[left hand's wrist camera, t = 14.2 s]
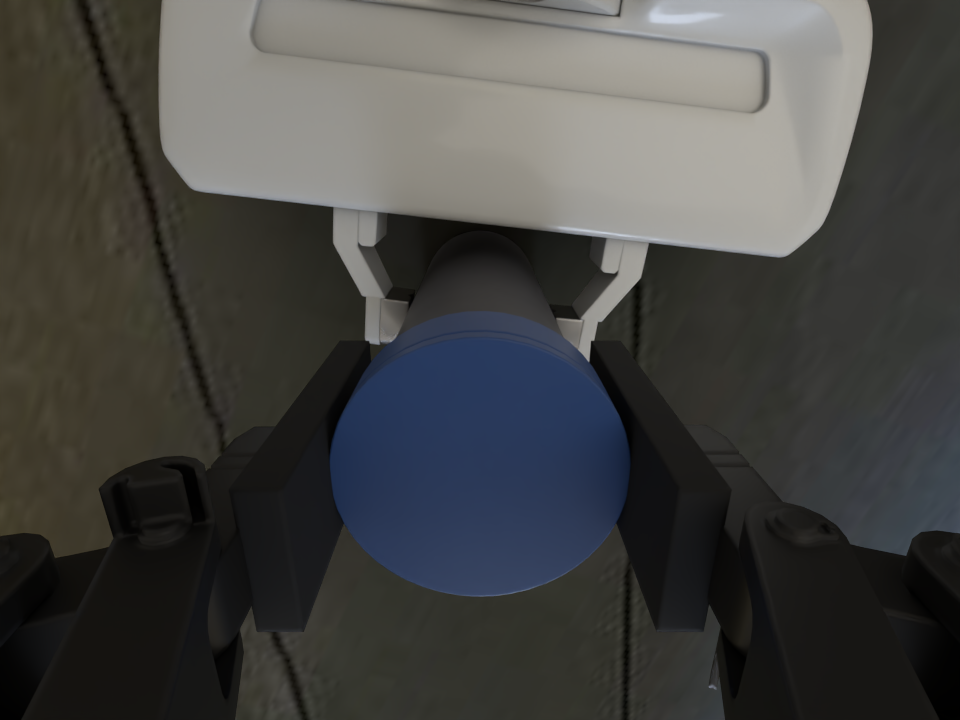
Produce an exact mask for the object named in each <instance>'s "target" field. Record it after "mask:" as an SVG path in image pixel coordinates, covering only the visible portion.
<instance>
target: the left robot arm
mask: <svg viewBox="0 0 960 720" xmlns="http://www.w3.org/2000/svg"><path fill="white" fill-rule="evenodd" d="M370 363H371V355H370V342H369V341H340V342H339V343H338V344H337V346H336V347H335V348H334V350H333V351H332V352H331V354H330V355H329V356H328V358H327V359H326V360H325V362H324V363H323V364H322V366H321V367H320V368H319V369H318V371H317V372H316V373H315V375H314V376H313V377H312V379H311V380H310V381H309V383H308V384H307V385H306V387H305V388H304V389H303V391H302V392H301V393H300V395H299V396H298V397H297V399H296V400H295V401H294V403H293V404H292V405H291V407H290V408H289V409H288V411H287V412H286V413H285V415H284V416H283V417H282V419H281V420H280V421H279V423H278V424H277V425H276V427H254V428H252V429H250V430H249V431H247V432H245V433H244V434H242V435H240V436H239V437H237V438H235V439H234V440H233V441H232V442H231V443H230V445H229V446H228V447H227V448H226V449H225V450H224V451H223V453H222V456H219V457H218V458H217V460H216V461H215V462H214V463H213V464H212V465H211V469H208V470H207V471H206V470H205V466H204V464H203V463H201V462H200V461H199V460H197V459H195V458H190V457H185V456H173V457H162V458H157V459H152V460H148V461H144V462H141V463H139V464H136V465H133V466H131V467H128V468H125V469H124V470H122V471H120V472H119V473H117V474H115V475H114V476H112V477H110V478H109V479H108V480H107V481H106V482H105V483H104V484H103V485H102V486H101V487H100V488H99V492H100V495H101V498H102V502H103V505H104V508H105V511H106V515H107V518H108V521H109V525H110V528H111V531H112V535H113V540H112V542H111V544H110V546H109V547H107V548H103V549H99V550H94V551H89V552H84V553H79V554H74V555H69V556H64V557H59V558H55V557H54V554H53V552H52V549H51V546H50V543H49V541H48V540H47V539H45V538H44V537H43V536H41V535H38V534H29V533H21V534H14V535H6V536H0V720H235V715H236V708H237V700H238V692H239V685H240V677H241V669H242V662H243V654H244V650H243V643H242V637H241V633H240V627H241V625H242V624H243V622H244V620H245V618H246V616H247V614H248V612H249V610H250V608H251V606H252V610H253V614H254V619H255V624H256V629H257V632H304V629H305V627H306V624H307V621H308V619H309V616H310V613H311V610H312V608H313V605H314V602H315V600H316V597H317V594H318V592H319V589H320V586H321V583H322V581H323V578H324V575H325V573H326V570H327V567H328V564H329V562H330V559H331V556H332V554H333V551H334V548H335V545H336V543H337V540H338V537H339V535H340V532H341V529H342V527H343V524H344V522H343V520H342V518H341V516H340V514H339V512H338V509H337V507H336V504H335V501H334V497H333V490H332V482H331V473H330V463H329V455H330V449H331V442H332V438H333V435H334V432H335V429H336V426H337V423H338V421H339V419H340V417H341V415H342V413H343V411H344V409H345V407H346V405H347V403H348V401H349V399H350V397H351V395H352V394H353V392H354V390H355V388H356V386H357V384H358V382H359V380H360V379H361V377H362V375H363V373H364V372H365V370H366V369H367V367H368V366H369V364H370ZM589 363H590V364H591V365H592V367H593V368H594V370H595V372H596V373H597V375H598V377H599V379H600V380H601V382H602V384H603V386H604V388H605V390H606V391H607V393H608V395H609V397H610V399H611V401H612V403H613V405H614V407H615V409H616V410H617V412H618V414H619V416H620V418H621V421H622V423H623V426H624V428H625V431H626V434H627V438H628V443H629V447H630V455H631V466H630V475H629V484H628V492H627V498H626V502H625V504H624V507H623V509H622V512H621V514H620V517H619V518H618V520H617V522H616V523H617V526H618V528H619V531H620V534H621V537H622V539H623V542H624V545H625V547H626V550H627V553H628V556H629V558H630V561H631V564H632V566H633V569H634V572H635V574H636V577H637V580H638V583H639V585H640V588H641V591H642V593H643V596H644V599H645V602H646V604H647V607H648V610H649V612H650V615H651V618H652V620H653V623H654V626H655V629H656V631H657V632H703V631H704V626H705V621H706V616H707V611H708V606H709V604H710V606H711V608H712V610H713V612H714V614H715V616H716V618H717V620H718V622H719V624H720V626H721V628H720V633H719V637H718V642H717V647H716V651H715V656H714V661H713V665H712V670H711V675H710V681H709V687H710V688H714V689H716V688H717V684H718V679H719V677H720V683H721V691H722V699H723V706H724V714H725V720H960V534H959V533H951V532H944V531H928V532H921V533H919V534H918V535H917V536H915V537H914V538H913V539H912V542H911V545H910V547H909V550H908V553H907V556H903V555H898V554H893V553H888V552H883V551H878V550H873V549H869V548H864V547H859V546H855V545H851V544H850V543H849V541H848V539H847V537H846V536H845V535H844V534H843V533H842V531H841V530H840V529H839V528H838V526H837V525H835V524H834V523H832V522H831V521H829V520H828V519H827V518H825V517H824V516H822V515H820V514H818V513H816V512H813V511H811V510H809V509H807V508H804V507H801V506H797V505H793V504H789V503H785V502H782V501H781V499H780V498H779V497H778V496H777V495H776V494H775V492H774V491H773V490H772V489H771V488H770V487H769V486H768V484H767V483H766V482H765V481H764V480H763V479H762V478H761V476H760V475H759V474H758V473H757V472H756V471H755V469H754V468H753V467H750V466H749V463H748V461H747V460H746V459H745V458H744V457H743V456H742V455H741V454H739V451H738V450H737V449H736V448H735V447H734V445H733V444H732V443H731V442H730V441H729V440H728V438H727V437H725V436H723V435H722V434H720V433H718V432H717V431H715V430H713V429H712V428H710V427H708V426H707V425H683V424H682V422H681V421H680V420H679V418H678V417H677V416H676V414H675V413H674V412H673V410H672V409H671V408H670V406H669V405H668V404H667V402H666V401H665V400H664V398H663V397H662V396H661V394H660V393H659V392H658V390H657V389H656V388H655V386H654V385H653V384H652V382H651V381H650V380H649V378H648V377H647V376H646V374H645V373H644V372H643V370H642V369H641V368H640V366H639V365H638V364H637V362H636V361H635V360H634V358H633V357H632V356H631V354H630V353H629V352H628V350H627V349H626V348H625V346H624V345H623V344H622V342H621V341H591V346H590V359H589Z"/></svg>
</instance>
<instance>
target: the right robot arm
mask: <svg viewBox="0 0 960 720" xmlns="http://www.w3.org/2000/svg"><path fill="white" fill-rule="evenodd" d="M872 36H873V33H872V18H871V13H870V9H869V5H868V2H867V0H162V6H161V21H160V37H159V72H158V83H159V127H160V138H161V144H162V149H163V152H164V154H165V156H166V158H167V159H168V160H169V162H170V163H171V164H172V166H173V167H174V168H175V170H176V171H177V172H178V174H179V175H180V176H181V178H182V179H183V180H184V181H185V183H186V184H187V185H188V186H189V187H190V188H192V189H193V190H195V191H199V192H207V193H215V194H224V195H233V196H242V197H251V198H259V199H268V200H277V201H286V202H295V203H303V204H312V205H321V206H330V207H333V244H334V246H335V248H336V249H337V251H338V253H339V255H340V257H341V258H342V260H343V262H344V264H345V266H346V267H347V269H348V271H349V273H350V275H351V276H352V278H353V280H354V282H355V284H356V285H357V287H358V289H359V291H360V293H361V295H362V296H365V297H366V316H365V340H366V341H369V342H370V343H371V344H378V345H380V344H384V345H388V344H389V343H390V342H392V341H393V340H394V339H395V338H396V337H397V335H398V333H399V331H400V328H401V326H402V324H403V322H404V320H405V318H406V315H407V313H408V311H409V309H410V307H411V304H412V302H413V300H414V295H415V290H413V289H405V288H397V287H393V284H392V282H391V280H390V278H389V276H388V274H387V272H386V270H385V268H384V266H383V264H382V261H381V259H380V257H379V255H378V253H377V251H376V249H375V247H374V245H375V244H376V243H377V242H379V241H380V240H381V239H382V238H383V237H384V236H386V234H387V217H388V213H392V214H400V215H409V216H418V217H427V218H436V219H444V220H453V221H462V222H471V223H480V224H489V225H497V226H506V227H515V228H524V229H533V230H541V231H550V232H559V233H568V234H577V235H585V236H592V242H591V248H590V254H589V258H590V260H591V261H592V262H593V263H594V264H595V265H596V266H597V267H599V268H600V269H599V270H598V272H597V273H596V274H595V275H594V277H593V278H592V279H591V280H590V282H589V283H588V284H587V285H586V287H585V288H584V289H583V291H582V292H581V293H580V294H579V296H578V297H577V298H576V299H575V301H574V302H573V303H572V306H563V305H551V304H550V309H551V311H552V313H553V315H554V317H555V320H556V322H557V324H558V326H559V328H560V331H561V333H562V335H563V337H564V338H565V339H566V340H568V341H569V342H570V343H571V344H572V345H573V346H574V347H575V348H577V349H578V350H579V351H580V352H581V353H582V354H583V355H584V357H585V358H586V359H587V360H588V362H589V359H590V346H591V341H594V338H595V333H596V328H597V323H598V322H602V321H603V320H604V318H605V317H606V316H607V315H608V314H609V313H610V312H611V311H612V309H613V308H614V307H615V306H616V305H617V304H618V303H619V302H620V301H621V299H622V298H623V297H624V296H625V295H626V294H627V293H628V292H629V290H630V289H631V288H632V287H633V286H634V285H635V284H636V283H637V282H638V280H639V279H640V278H641V275H642V271H643V267H644V262H645V258H646V253H647V249H648V245H649V243H656V244H665V245H674V246H682V247H691V248H700V249H709V250H718V251H726V252H735V253H744V254H753V255H762V256H771V257H785V256H787V255H789V254H791V253H792V252H793V251H794V250H796V249H797V248H798V247H800V246H801V245H802V244H803V243H804V242H805V241H807V240H808V239H809V238H810V237H811V236H812V235H813V234H814V233H815V232H816V231H818V230H819V228H820V227H821V226H822V224H823V223H824V221H825V219H826V217H827V215H828V212H829V210H830V207H831V204H832V202H833V199H834V196H835V193H836V190H837V187H838V184H839V181H840V178H841V175H842V172H843V168H844V165H845V162H846V158H847V155H848V151H849V148H850V144H851V141H852V137H853V133H854V129H855V126H856V122H857V118H858V114H859V110H860V106H861V102H862V97H863V93H864V89H865V84H866V79H867V74H868V69H869V64H870V58H871V51H872Z"/></svg>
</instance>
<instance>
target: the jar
mask: <svg viewBox="0 0 960 720" xmlns="http://www.w3.org/2000/svg"><path fill="white" fill-rule="evenodd" d="M468 311H490V312H500V313H507V314H511V315H515V316H520V317H523V318H526V319H529V320H532V321H534V322H537V323H540V324H541V325H543V326H545V327H547V328H549V329H551V330H553V331H555V332H556V333H558V334H559V335H561V336H562V337H563V335H562V333H561V331H560V328H559V326H558V324H557V322H556V320H555V317H554V315H553V313H552V311H551V309H550V306H549V304H548V302H547V300H546V298H545V295H544V293H543V291H542V289H541V287H540V284H539V282H538V280H537V278H536V276H535V274H534V271H533V269H532V267H531V265H530V263H529V260H528V259H527V257H526V255H525V254H524V252H523V251H522V250H521V249H520V248H519V247H518V246H517V245H516V244H515V243H514V242H513V241H511V240H510V239H508V238H506V237H505V236H503V235H500V234H497V233H494V232H490V231H471V232H466V233H463V234H460V235H458V236H456V237H454V238H452V239H450V240H449V241H447V242H446V243H445V244H444V245H443V246H442V247H441V248H440V249H439V250H438V251H437V253H436V254H435V255H434V257H433V259H432V261H431V263H430V265H429V267H428V269H427V272H426V274H425V276H424V278H423V280H422V282H421V285H420V287H419V289H418V291H417V293H416V296H415V298H414V300H413V302H412V304H411V307H410V309H409V311H408V313H407V315H406V318H405V320H404V322H403V324H402V326H401V328H400V331H399V333H398V335H397V337H398V336H399V335H401V334H403V333H404V332H406V331H407V330H409V329H411V328H412V327H414V326H417V325H419V324H421V323H423V322H426V321H428V320H430V319H434V318H437V317H441V316H444V315H448V314H454V313H460V312H468ZM563 338H564V337H563Z"/></svg>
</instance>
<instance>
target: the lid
mask: <svg viewBox="0 0 960 720" xmlns="http://www.w3.org/2000/svg"><path fill="white" fill-rule="evenodd" d="M329 463H330V473H331V482H332V490H333V497H334V501H335V504H336V507H337V509H338V512H339V514H340V516H341V518H342V520H343V522H344V524H345V525H346V527H347V529H348V530H349V532H350V533H351V535H352V536H353V538H354V539H355V540H356V541H357V542H358V543H359V545H360V546H361V547H362V548H363V549H364V550H365V551H366V552H367V553H368V554H369V555H370V556H371V557H372V558H374V559H375V560H376V561H377V562H378V563H380V564H381V565H383V566H384V567H385V568H387V569H388V570H390V571H391V572H393V573H395V574H396V575H398V576H400V577H402V578H404V579H406V580H408V581H410V582H413V583H415V584H417V585H420V586H422V587H426V588H429V589H432V590H436V591H439V592H444V593H450V594H455V595H465V596H496V595H504V594H511V593H516V592H520V591H524V590H528V589H531V588H534V587H537V586H540V585H543V584H546V583H548V582H550V581H552V580H554V579H556V578H558V577H560V576H562V575H564V574H565V573H567V572H569V571H570V570H572V569H573V568H575V567H576V566H578V565H579V564H580V563H581V562H583V561H584V560H585V559H587V558H588V557H589V556H590V555H591V554H592V553H593V552H594V551H595V550H596V549H597V548H598V547H599V546H600V545H601V544H602V542H603V541H604V540H605V539H606V537H607V536H608V535H609V533H610V532H611V531H612V529H613V527H614V525H615V524H616V522H617V520H618V518H619V517H620V514H621V512H622V509H623V507H624V504H625V502H626V498H627V492H628V484H629V475H630V466H631V455H630V447H629V443H628V438H627V434H626V431H625V428H624V426H623V423H622V421H621V418H620V416H619V414H618V412H617V410H616V409H615V407H614V405H613V403H612V401H611V399H610V397H609V395H608V393H607V391H606V390H605V388H604V386H603V384H602V382H601V380H600V379H599V377H598V375H597V373H596V372H595V370H594V368H593V367H592V365H591V364H590V363H589V362H588V360H587V359H586V358H585V357H584V355H583V354H582V353H581V352H580V351H579V350H578V349H577V348H575V347H574V346H573V345H572V344H571V343H570V342H569V341H568V340H566V339H565V338H563V337H562V336H561V335H559V334H558V333H556V332H555V331H553V330H551V329H549V328H547V327H545V326H543V325H541V324H540V323H537V322H534V321H532V320H529V319H526V318H523V317H520V316H515V315H511V314H507V313H500V312H490V311H468V312H460V313H454V314H448V315H444V316H441V317H437V318H434V319H430V320H428V321H426V322H423V323H421V324H419V325H417V326H414V327H412V328H411V329H409V330H407V331H406V332H404V333H403V334H401V335H399V336H398V337H396V338H395V339H394V340H393V341H392V342H390V343H389V344H388V345H387V346H385V347H384V348H383V349H382V350H381V351H380V353H379V354H378V355H377V356H376V357H375V358H374V359H373V360H372V362H371V363H370V364H369V366H368V367H367V369H366V370H365V372H364V373H363V375H362V377H361V379H360V380H359V382H358V384H357V386H356V388H355V390H354V392H353V394H352V395H351V397H350V399H349V401H348V403H347V405H346V407H345V409H344V411H343V413H342V415H341V417H340V419H339V421H338V423H337V426H336V429H335V432H334V435H333V438H332V442H331V449H330V455H329Z"/></svg>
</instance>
